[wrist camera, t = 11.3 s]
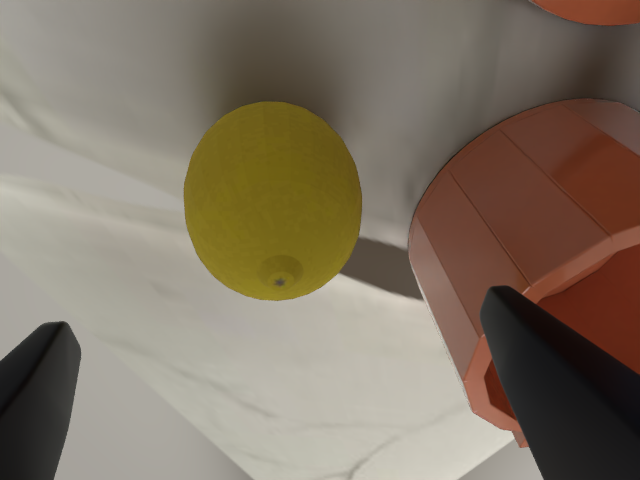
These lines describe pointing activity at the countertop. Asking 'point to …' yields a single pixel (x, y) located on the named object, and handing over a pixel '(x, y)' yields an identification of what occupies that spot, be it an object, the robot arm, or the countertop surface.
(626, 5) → the lid
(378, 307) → the countertop surface
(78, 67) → the countertop surface
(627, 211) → the pot
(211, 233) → the lemon
